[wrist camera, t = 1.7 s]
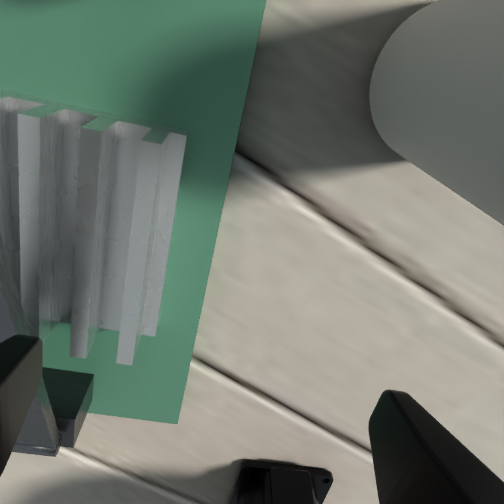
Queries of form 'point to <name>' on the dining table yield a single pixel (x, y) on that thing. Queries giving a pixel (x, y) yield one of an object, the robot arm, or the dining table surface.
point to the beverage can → (447, 97)
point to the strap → (40, 413)
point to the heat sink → (86, 229)
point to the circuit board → (155, 111)
